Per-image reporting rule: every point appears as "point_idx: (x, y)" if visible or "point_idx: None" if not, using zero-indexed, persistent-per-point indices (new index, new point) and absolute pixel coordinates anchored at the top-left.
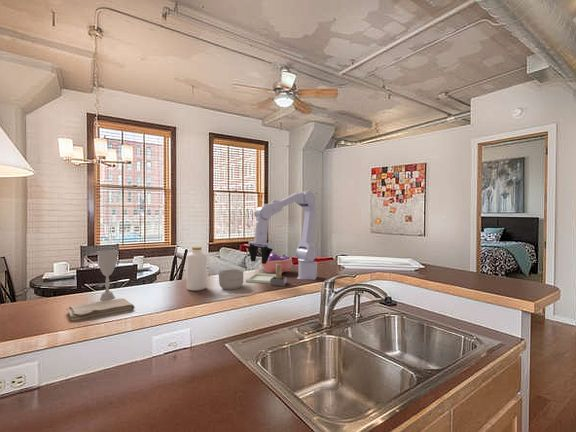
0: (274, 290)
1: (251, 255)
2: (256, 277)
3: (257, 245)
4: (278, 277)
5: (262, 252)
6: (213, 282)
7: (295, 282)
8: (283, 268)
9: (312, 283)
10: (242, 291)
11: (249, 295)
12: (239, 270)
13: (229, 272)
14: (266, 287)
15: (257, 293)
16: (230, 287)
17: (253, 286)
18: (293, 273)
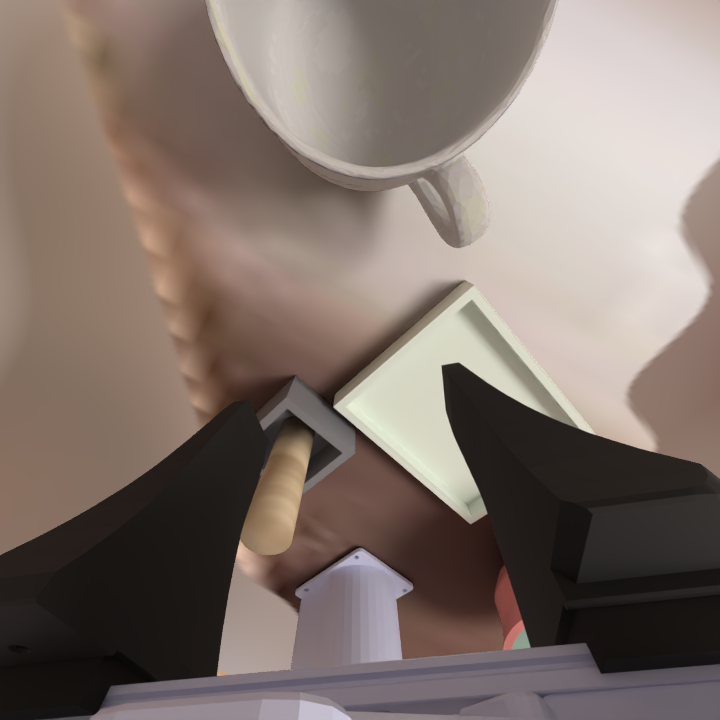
0: (189, 345)
1: (468, 402)
2: (534, 408)
3: (415, 682)
4: (272, 449)
5: (118, 507)
6: (693, 36)
7: (312, 515)
8: (496, 586)
9: (253, 557)
10: (249, 134)
11: (113, 125)
12: (416, 161)
13: (512, 57)
14: (281, 342)
15: (152, 210)
16: (276, 3)
17: (349, 284)
18: (493, 597)
